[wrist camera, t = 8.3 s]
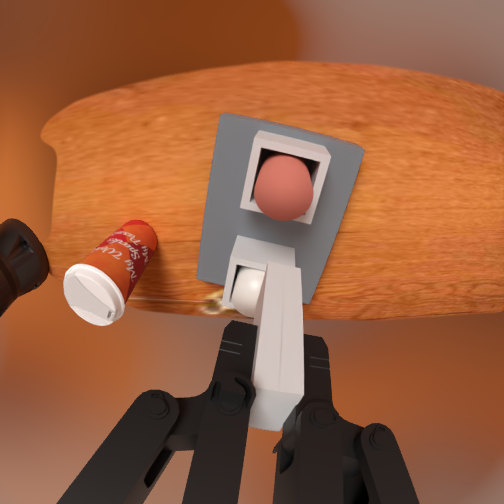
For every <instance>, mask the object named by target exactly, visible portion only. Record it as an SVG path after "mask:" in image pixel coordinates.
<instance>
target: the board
mask: <svg viewBox="0 0 504 504" xmlns="http://www.w3.org/2000/svg"><path fill="white" fill-rule="evenodd" d="M273 151H279V152H284V153H288V154H292V155H296V156H300V157H303V158H304V160H305V161H306V163H307V166H308V170H309V174H310V178H311V182H312V186H313V201H312V203H311V206H310V207H309V209H308V210H307V211H306V212H305V213H304V214H303V215H302V216H300V217H298V218H296V219H293V220H289V221H280V220H275V219H272V218H270V217H268V216H267V215H265V214H264V213H263V212H262V211H261V210H260V209H259V207H258V206H257V204H256V201H255V197H254V188H255V184H256V181H257V178H258V175H259V172H260V169H261V166H262V163H263V161H264V159H265V158H266V157H267V156H268V155H269V154H270V153H271V152H273ZM364 151H365V150H364V149H363V148H362V147H361V146H359V145H357V144H354V143H351V142H347V141H344V140H341V139H337V138H334V137H331V136H327V135H323V134H320V133H316V132H312V131H309V130H305V129H301V128H297V127H293V126H289V125H285V124H280V123H276V122H271V121H267V120H262V119H257V118H252V117H247V116H242V115H237V114H231V113H223V114H221V115H220V119H219V125H218V130H217V136H216V142H215V148H214V154H213V160H212V166H211V172H210V179H209V186H208V192H207V199H206V206H205V213H204V221H203V228H202V236H201V244H200V252H199V260H198V269H197V278H196V279H198V280H202V281H206V282H210V283H215V284H219V285H223V286H225V288H224V294H223V299H222V306H226V307H230V308H235V307H234V306H233V303H232V294H233V290H234V287H235V283H236V279H237V275H238V271H239V267H240V265H242V266H246V267H251V268H255V269H259V270H264V271H266V267H267V264H268V261H270V262H274V263H279V264H283V265H288V266H292V267H297V268H301V285H302V303H305V304H310V302H311V299H312V297H313V294H314V292H315V289H316V287H317V284H318V282H319V279H320V277H321V274H322V272H323V269H324V267H325V264H326V261H327V259H328V256H329V254H330V251H331V248H332V246H333V243H334V240H335V238H336V235H337V232H338V229H339V227H340V224H341V221H342V218H343V215H344V212H345V210H346V207H347V204H348V201H349V198H350V195H351V192H352V189H353V186H354V183H355V180H356V177H357V174H358V171H359V167H360V164H361V161H362V158H363V155H364Z"/></svg>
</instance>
